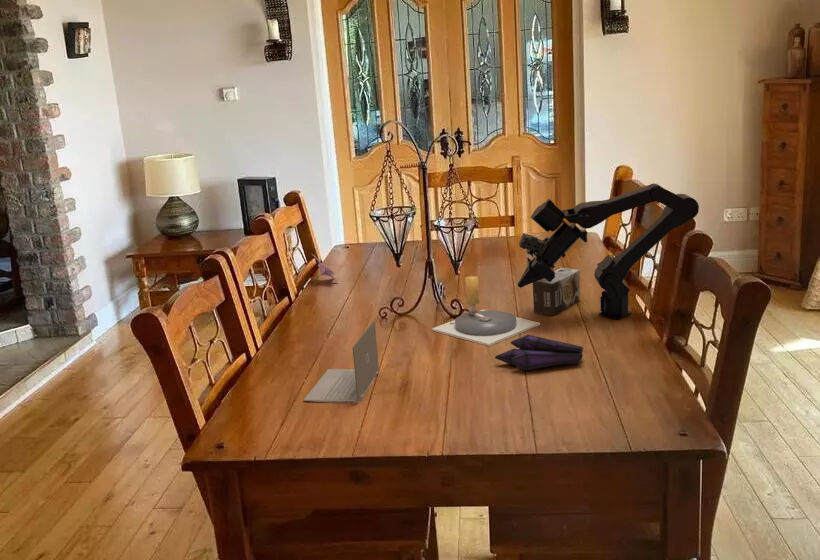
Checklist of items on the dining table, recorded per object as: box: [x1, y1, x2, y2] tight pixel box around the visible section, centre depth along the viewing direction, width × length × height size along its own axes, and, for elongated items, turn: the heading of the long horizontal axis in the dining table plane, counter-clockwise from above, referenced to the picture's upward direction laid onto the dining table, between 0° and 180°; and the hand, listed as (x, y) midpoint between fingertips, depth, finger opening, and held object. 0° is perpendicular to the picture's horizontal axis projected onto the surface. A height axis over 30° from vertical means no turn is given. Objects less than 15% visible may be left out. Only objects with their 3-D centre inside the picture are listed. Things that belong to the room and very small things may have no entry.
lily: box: [311, 253, 339, 287], centre depth 270 cm, size 12×12×10 cm
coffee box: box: [532, 267, 581, 316], centre depth 229 cm, size 9×6×16 cm
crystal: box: [494, 334, 584, 372], centre depth 189 cm, size 7×12×20 cm
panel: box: [431, 309, 541, 347], centre depth 217 cm, size 20×20×1 cm
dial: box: [454, 275, 517, 335], centre depth 215 cm, size 16×16×12 cm
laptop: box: [303, 319, 380, 404], centre depth 183 cm, size 18×12×13 cm
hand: (518, 286), depth 219 cm, fingers closed
